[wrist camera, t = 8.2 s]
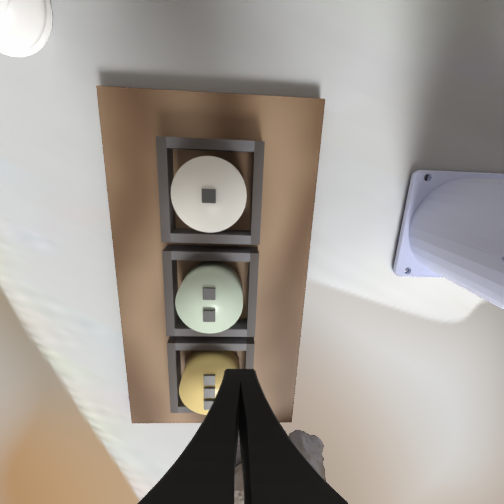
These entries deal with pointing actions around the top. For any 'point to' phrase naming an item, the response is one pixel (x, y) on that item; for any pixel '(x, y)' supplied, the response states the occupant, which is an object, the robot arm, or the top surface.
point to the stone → (307, 447)
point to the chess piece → (24, 26)
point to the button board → (209, 234)
